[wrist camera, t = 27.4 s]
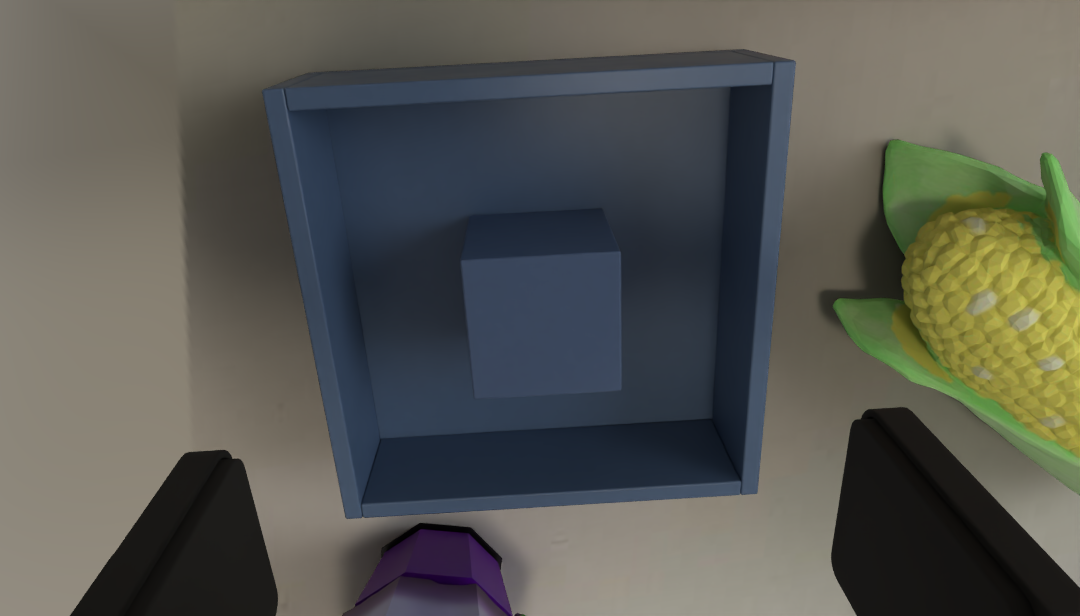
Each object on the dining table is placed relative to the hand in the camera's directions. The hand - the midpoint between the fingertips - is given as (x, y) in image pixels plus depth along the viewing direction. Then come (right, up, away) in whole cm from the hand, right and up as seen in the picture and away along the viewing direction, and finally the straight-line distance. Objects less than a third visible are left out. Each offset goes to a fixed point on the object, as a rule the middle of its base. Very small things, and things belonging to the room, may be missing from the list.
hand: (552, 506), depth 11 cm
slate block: (0, +4, +14) cm, 15 cm away
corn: (+19, +2, +17) cm, 25 cm away
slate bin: (0, +5, +15) cm, 16 cm away
